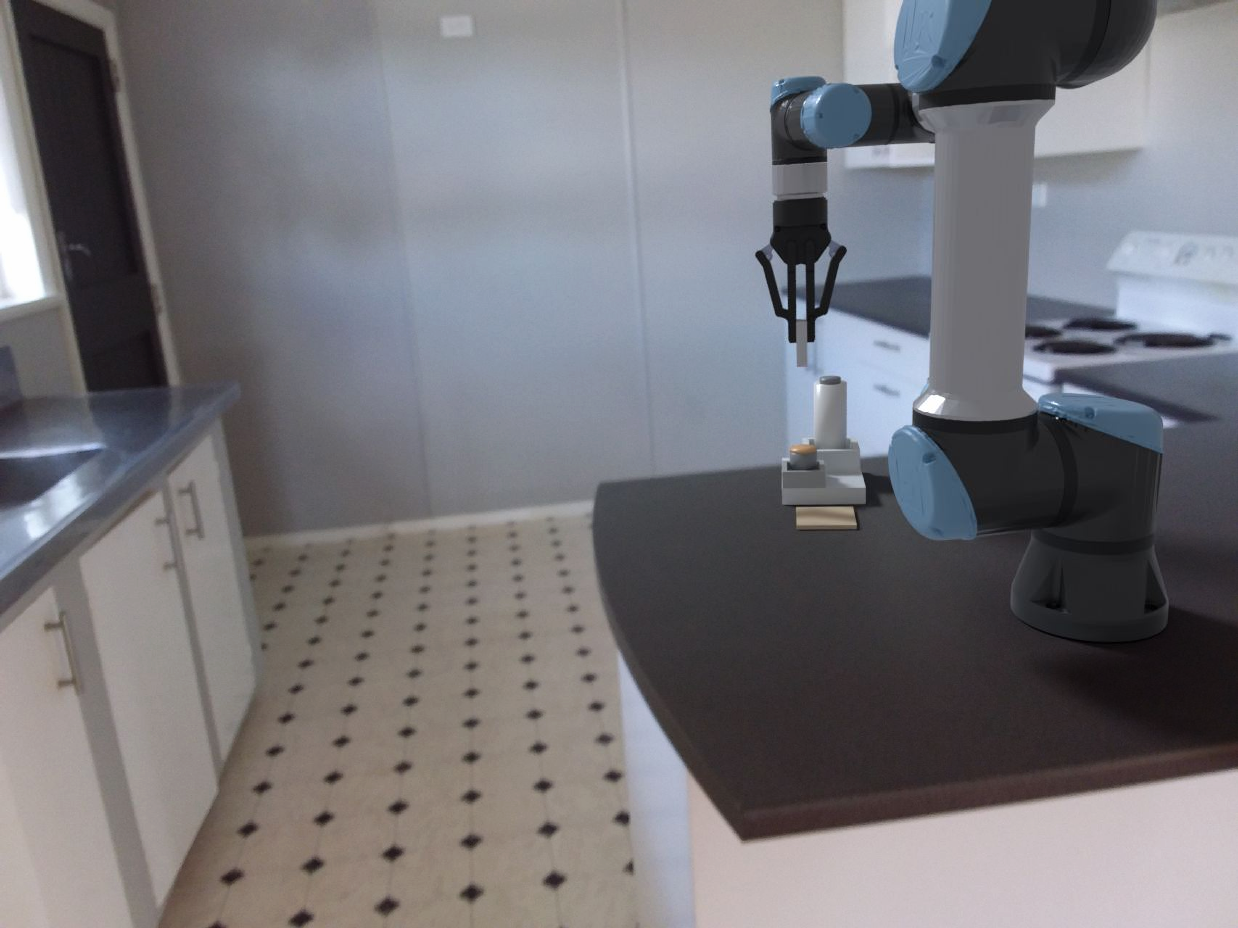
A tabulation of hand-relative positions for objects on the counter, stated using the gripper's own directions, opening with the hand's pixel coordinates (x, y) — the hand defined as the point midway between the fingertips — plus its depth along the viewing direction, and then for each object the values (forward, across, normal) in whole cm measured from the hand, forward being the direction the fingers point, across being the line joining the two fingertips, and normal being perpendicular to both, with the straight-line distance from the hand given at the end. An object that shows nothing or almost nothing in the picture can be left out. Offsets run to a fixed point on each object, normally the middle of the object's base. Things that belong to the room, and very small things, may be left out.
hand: (801, 365), depth 145 cm
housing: (+20, -3, -5) cm, 21 cm away
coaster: (+20, -3, +10) cm, 23 cm away
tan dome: (+15, 0, 0) cm, 15 cm away
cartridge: (+18, -4, -9) cm, 20 cm away
